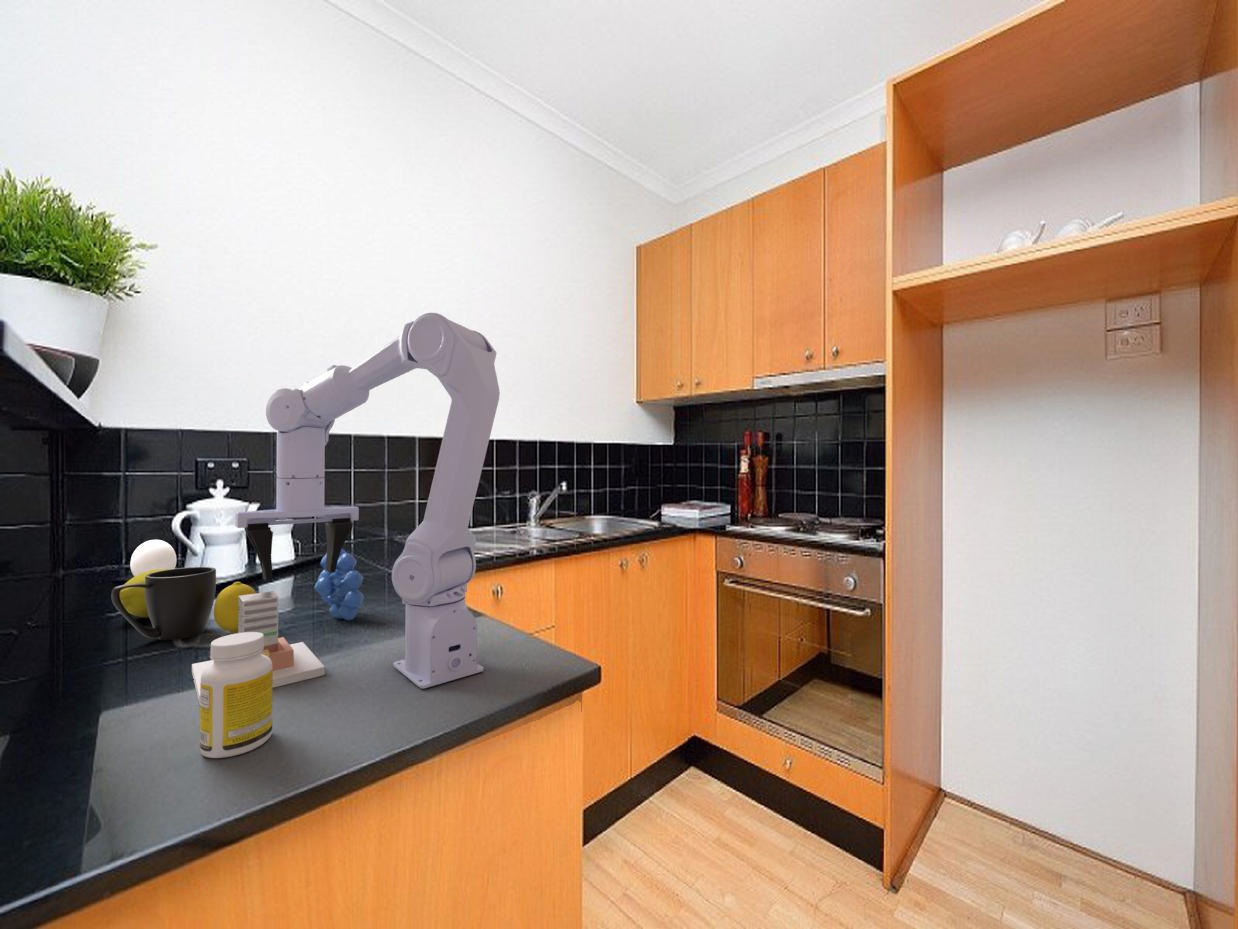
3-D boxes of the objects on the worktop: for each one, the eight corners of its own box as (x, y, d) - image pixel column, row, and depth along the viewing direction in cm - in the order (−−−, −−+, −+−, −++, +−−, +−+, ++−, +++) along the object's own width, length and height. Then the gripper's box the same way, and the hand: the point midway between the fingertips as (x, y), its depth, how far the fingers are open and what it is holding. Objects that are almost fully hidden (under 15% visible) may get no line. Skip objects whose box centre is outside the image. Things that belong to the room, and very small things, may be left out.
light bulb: (133, 594, 102) (133, 539, 102) (177, 589, 106) (178, 536, 106) (127, 602, 96) (127, 543, 96) (174, 596, 100) (174, 540, 100)
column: (278, 643, 63) (278, 596, 63) (242, 650, 61) (242, 602, 61) (272, 636, 66) (273, 591, 66) (238, 642, 64) (238, 595, 64)
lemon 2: (234, 641, 75) (235, 586, 75) (203, 638, 76) (204, 585, 76) (267, 629, 80) (268, 578, 80) (238, 627, 82) (238, 577, 82)
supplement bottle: (285, 728, 50) (285, 628, 51) (246, 760, 45) (247, 648, 45) (228, 729, 50) (229, 629, 50) (183, 761, 45) (184, 649, 45)
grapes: (296, 618, 86) (297, 547, 86) (337, 609, 92) (338, 542, 92) (331, 632, 80) (331, 554, 80) (373, 621, 85) (373, 548, 85)
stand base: (324, 674, 63) (324, 645, 63) (199, 705, 55) (199, 671, 55) (302, 649, 72) (302, 623, 72) (191, 672, 64) (191, 643, 64)
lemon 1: (183, 606, 94) (184, 562, 94) (204, 612, 90) (204, 566, 90) (102, 622, 84) (102, 573, 84) (121, 629, 80) (121, 578, 80)
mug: (100, 645, 73) (100, 578, 73) (201, 622, 84) (201, 564, 84) (122, 656, 69) (123, 585, 69) (225, 631, 80) (226, 569, 80)
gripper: (348, 476, 80) (348, 564, 80) (232, 478, 70) (231, 578, 69) (363, 477, 74) (363, 571, 74) (240, 479, 64) (239, 587, 64)
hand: (300, 575), depth 72 cm, fingers open, 7 cm apart
